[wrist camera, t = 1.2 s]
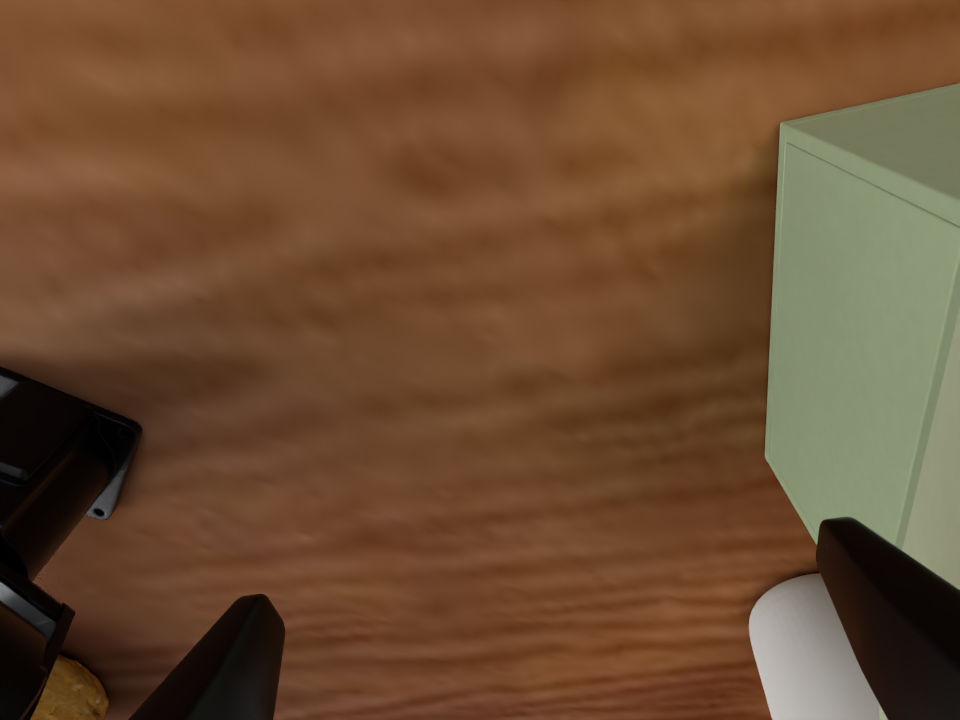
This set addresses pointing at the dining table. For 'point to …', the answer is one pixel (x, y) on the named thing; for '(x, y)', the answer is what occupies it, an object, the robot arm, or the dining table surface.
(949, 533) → the flap
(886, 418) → the carton
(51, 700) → the bagel
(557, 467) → the dining table surface
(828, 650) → the cup
